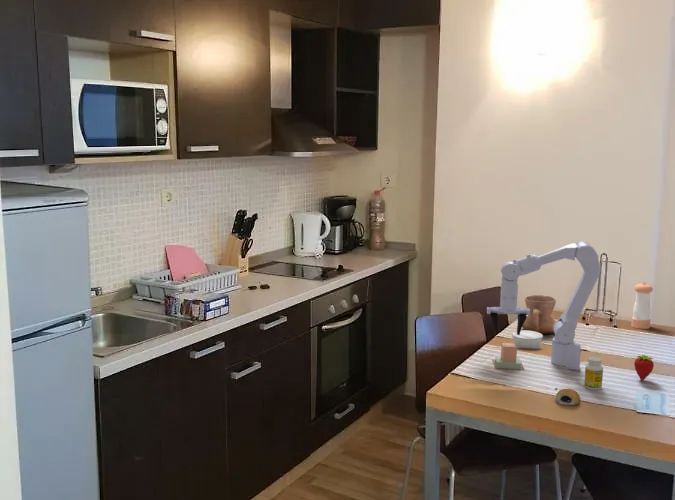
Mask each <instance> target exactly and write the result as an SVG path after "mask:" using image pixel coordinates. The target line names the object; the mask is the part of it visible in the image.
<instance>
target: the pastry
mask: <svg viewBox="0 0 675 500" xmlns="http://www.w3.org/2000/svg"><path fill="white" fill-rule="evenodd" d="M580 399H581V397H580V394H579V391H577V390H574V389H571V388H564V389H563V388H562V389H560V390H559V391H558V392H557V393H556V395H555V399H554V400H555V402H556V403H557V404H560V405H564V406H565V405H566V406H576V405H578V404H579V402H580Z"/></svg>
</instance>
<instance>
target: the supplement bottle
mask: <svg viewBox="0 0 675 500" xmlns="http://www.w3.org/2000/svg"><path fill="white" fill-rule="evenodd" d="M587 359H588V360H587V364H586V365H585V367H584V387H585V388H586V389H588V390H590V391H599V390H601V389H602V387H603V378H604V377H603V373H604V366H603V365H602V358H600V357H597V356H589V357H588V358H587Z"/></svg>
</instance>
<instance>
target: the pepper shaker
mask: <svg viewBox="0 0 675 500" xmlns="http://www.w3.org/2000/svg"><path fill="white" fill-rule="evenodd" d="M634 290H635V301H634V305H633V308H632V317H631V324H630V326H631V327H632V328H636V329H639V330H647V329H650V328H651V317H650V316H651V303H650V302H651V301H650V300H651V293H652V292H653V290H654V289H653V287H652V285H650V284H648V283H647V282H645V281H642V282H641V283H637V284H635V286H634Z"/></svg>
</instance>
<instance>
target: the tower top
mask: <svg viewBox="0 0 675 500" xmlns="http://www.w3.org/2000/svg"><path fill="white" fill-rule="evenodd" d="M495 360H496V367H497V368H507V369H521V363H522V361H521V358H520V356H518V355H517V358H516V361H503V360H502V358H501V354H495ZM520 361H521V362H520Z"/></svg>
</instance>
